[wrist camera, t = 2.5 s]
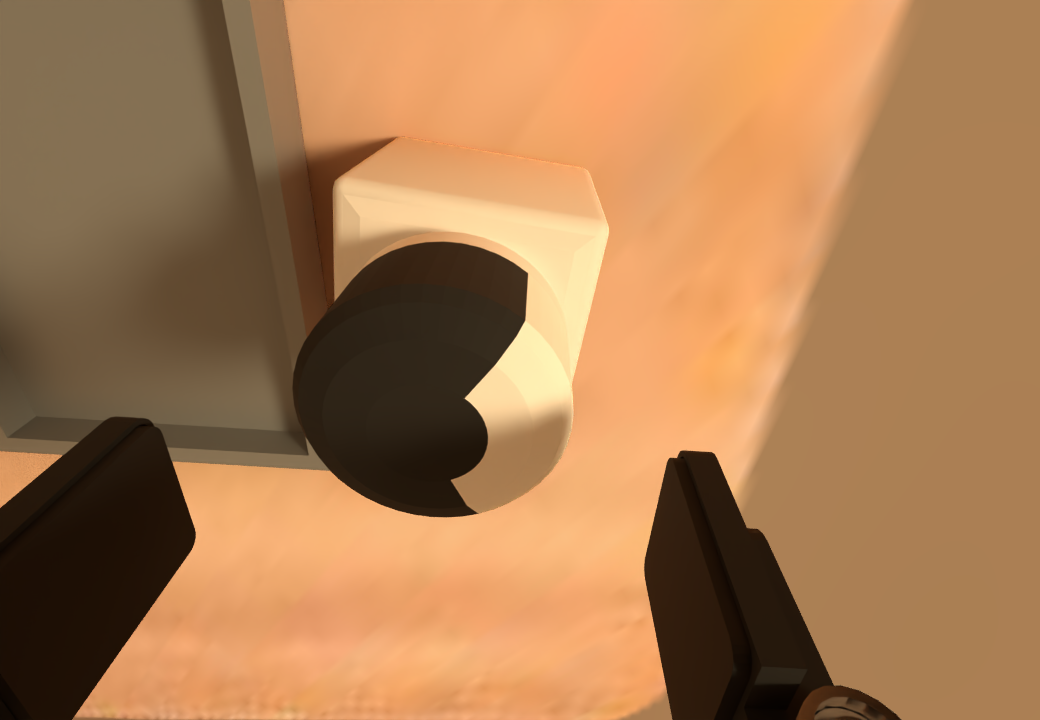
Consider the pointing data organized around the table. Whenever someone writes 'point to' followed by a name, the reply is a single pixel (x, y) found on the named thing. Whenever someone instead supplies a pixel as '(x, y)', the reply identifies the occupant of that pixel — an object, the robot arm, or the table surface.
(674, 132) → the table surface
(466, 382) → the medicine bottle
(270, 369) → the gray tray
